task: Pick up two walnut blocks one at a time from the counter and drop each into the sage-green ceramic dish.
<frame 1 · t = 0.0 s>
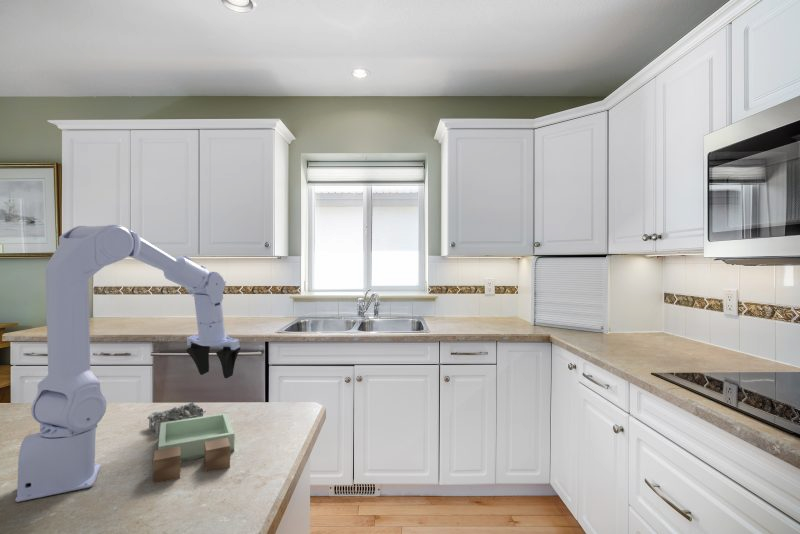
hand: (216, 374, 96), 11 cm above the countertop, tool pointing down, fingers open, 7 cm apart
dish: (196, 445, 81), on the countertop
block a: (166, 476, 69), on the countertop
block b: (216, 465, 73), on the countertop
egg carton: (176, 426, 91), on the countertop
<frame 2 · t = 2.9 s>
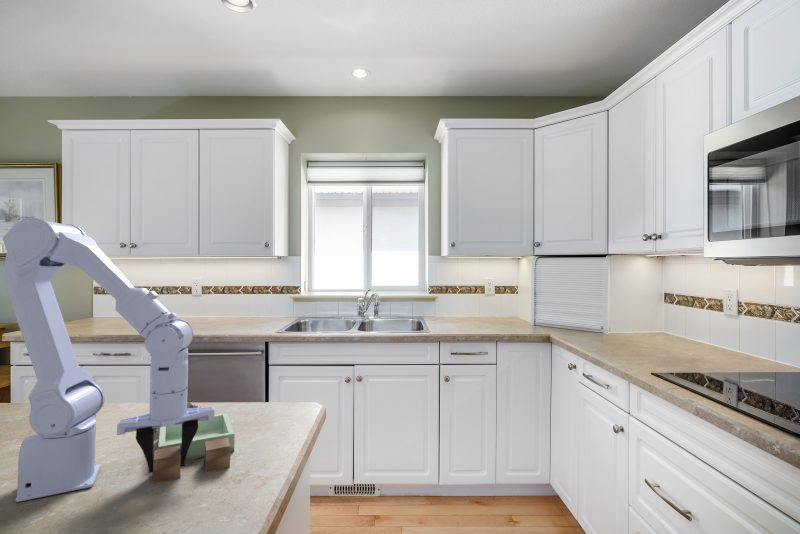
hand: (167, 467, 69), 1 cm above the countertop, tool pointing down, fingers closed on block a, 4 cm apart
block a: (166, 475, 69), on the countertop, touching gripper
everything else where it was.
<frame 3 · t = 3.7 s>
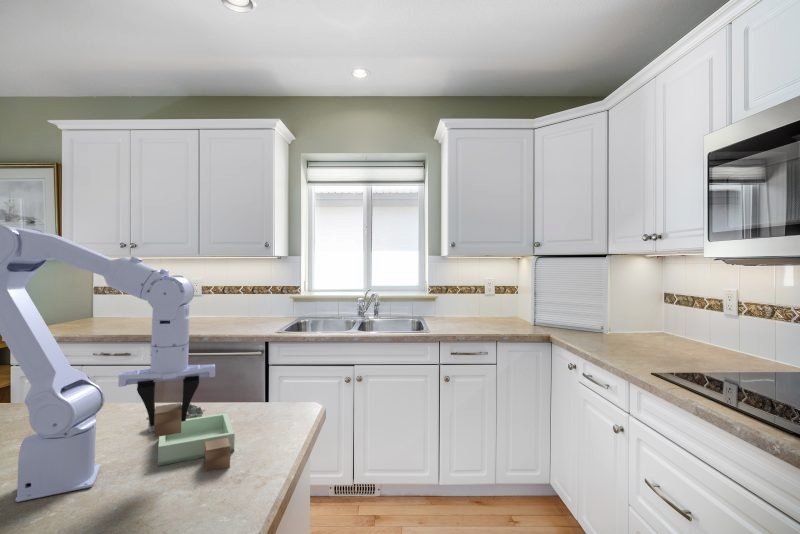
hand: (168, 421, 69), 9 cm above the countertop, tool pointing down, fingers closed on block a, 4 cm apart
block a: (168, 430, 69), point 8 cm above the countertop, touching gripper
everything else where it was.
when the fingers open (6 cm above the countertop, at t = 5.0 s): block a drops 4 cm, resting on dish.
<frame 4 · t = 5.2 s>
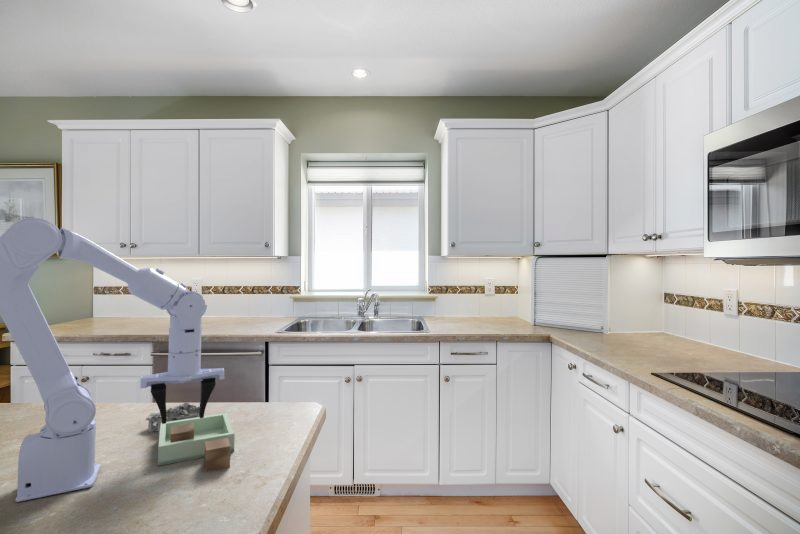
hand: (183, 419, 78), 6 cm above the countertop, tool pointing down, fingers open, 6 cm apart
block a: (182, 449, 78), point 1 cm above the countertop, touching dish
everything else where it was.
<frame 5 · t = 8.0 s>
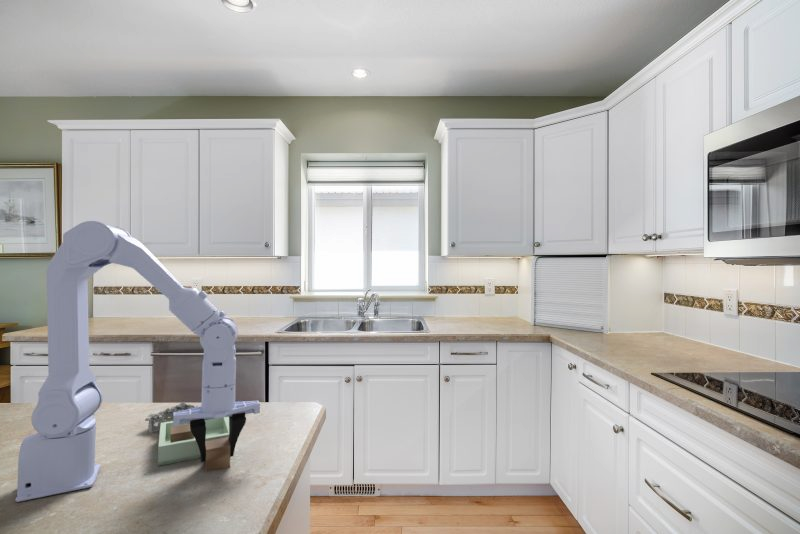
hand: (217, 457, 73), 1 cm above the countertop, tool pointing down, fingers closed on block b, 4 cm apart
block b: (216, 465, 73), on the countertop, touching gripper
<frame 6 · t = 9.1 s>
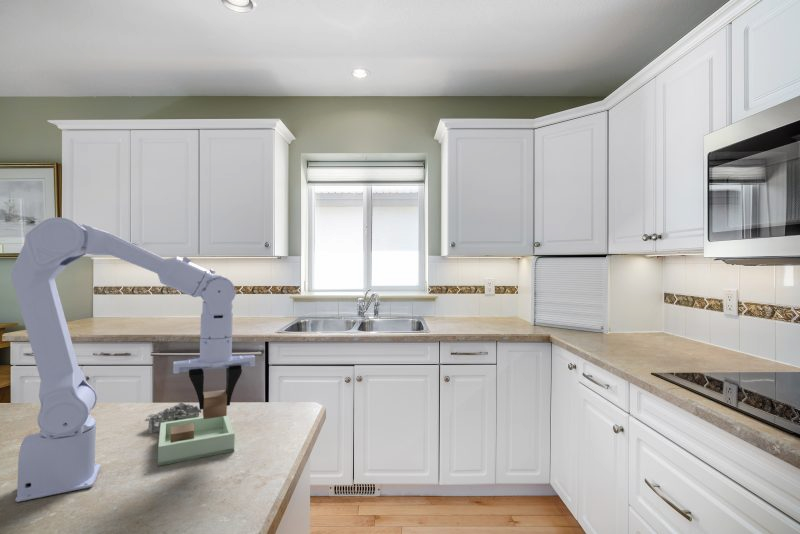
hand: (214, 405, 77), 9 cm above the countertop, tool pointing down, fingers closed on block b, 4 cm apart
block b: (214, 414, 77), point 8 cm above the countertop, touching gripper
when the fingers open (6 cm above the countertop, at t = 10.3 s): block b drops 4 cm, resting on dish.
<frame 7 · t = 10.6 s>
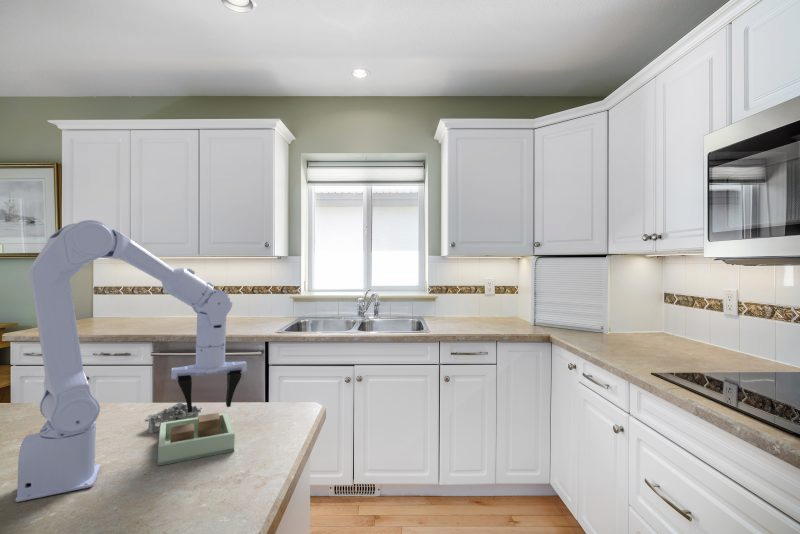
hand: (209, 408, 84), 6 cm above the countertop, tool pointing down, fingers open, 7 cm apart
block b: (208, 436, 84), point 1 cm above the countertop, touching dish
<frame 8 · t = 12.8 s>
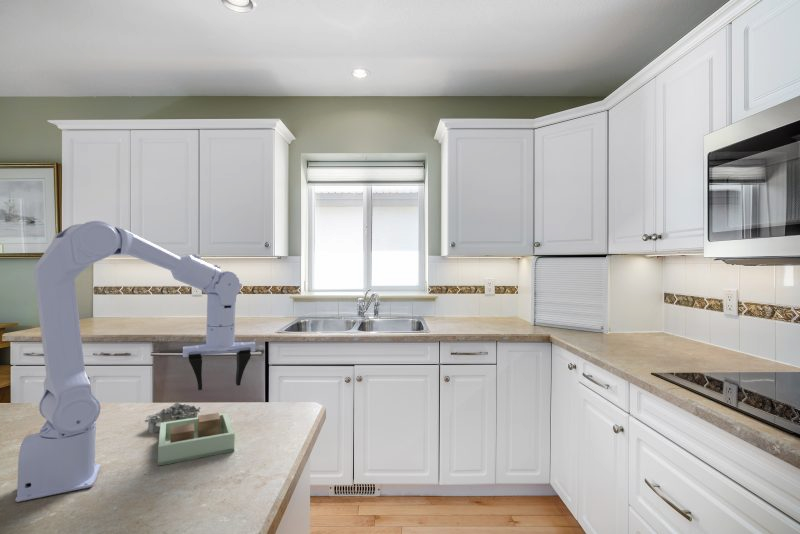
hand: (219, 386, 87), 10 cm above the countertop, tool pointing down, fingers open, 7 cm apart
at the end: block a inside the target area on the dish (3.4 cm from its centre), point 0.6 cm above the dish's base; block b inside the target area on the dish (3.3 cm from its centre), point 0.6 cm above the dish's base; the gripper is holding nothing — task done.
